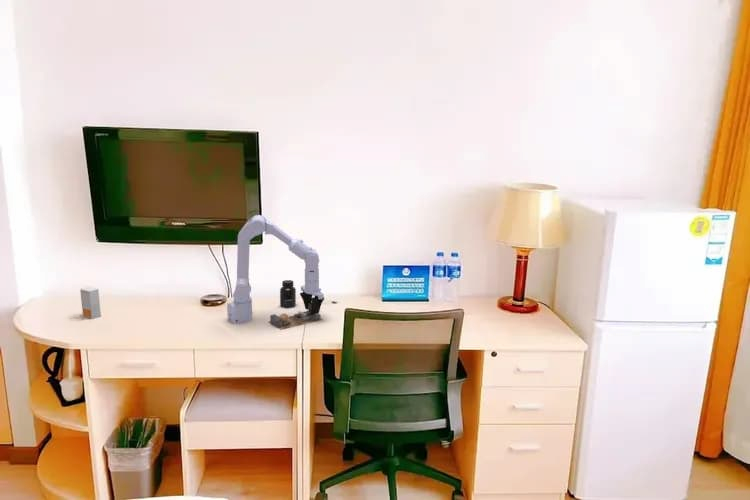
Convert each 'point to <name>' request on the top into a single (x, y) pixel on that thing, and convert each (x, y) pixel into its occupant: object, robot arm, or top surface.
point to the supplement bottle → (287, 294)
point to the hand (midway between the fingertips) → (312, 311)
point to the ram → (309, 313)
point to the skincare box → (90, 302)
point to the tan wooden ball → (284, 318)
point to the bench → (293, 320)
